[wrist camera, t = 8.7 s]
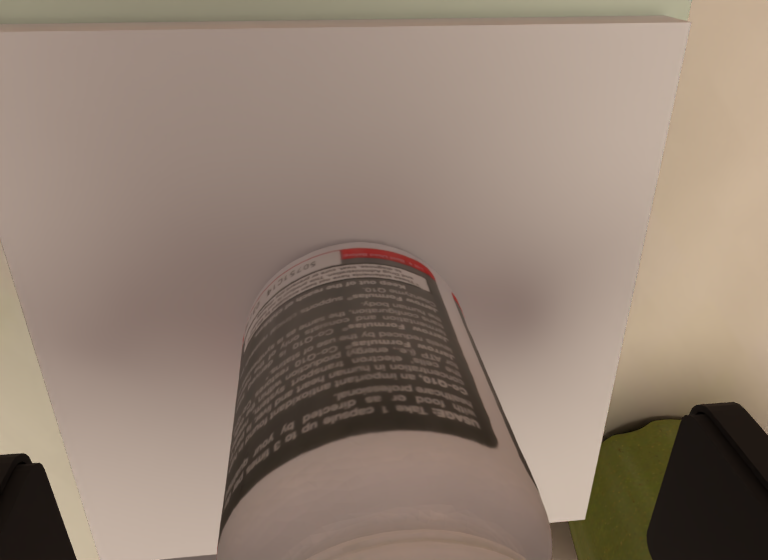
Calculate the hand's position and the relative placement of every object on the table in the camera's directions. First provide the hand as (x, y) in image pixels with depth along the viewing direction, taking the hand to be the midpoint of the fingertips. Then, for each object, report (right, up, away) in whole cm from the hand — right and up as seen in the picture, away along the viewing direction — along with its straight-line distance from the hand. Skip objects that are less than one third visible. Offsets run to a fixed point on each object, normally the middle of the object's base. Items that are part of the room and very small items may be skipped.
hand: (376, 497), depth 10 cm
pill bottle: (-1, +2, +5) cm, 5 cm away
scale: (-2, +5, +11) cm, 12 cm away
